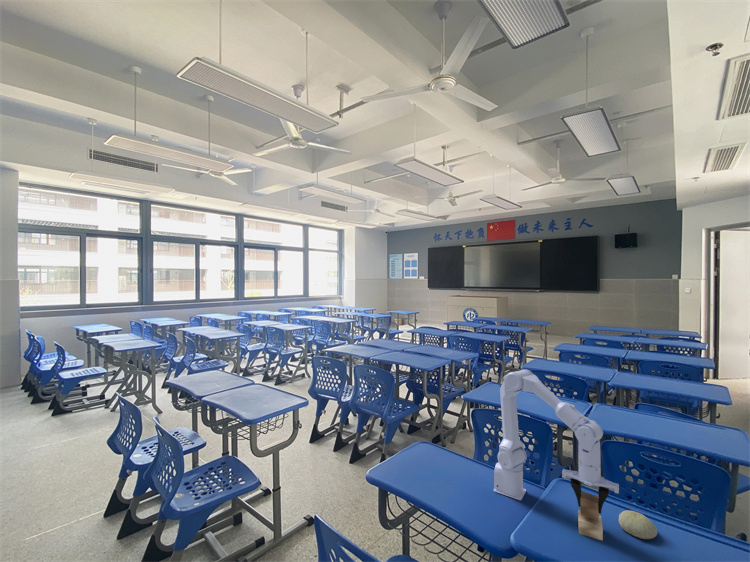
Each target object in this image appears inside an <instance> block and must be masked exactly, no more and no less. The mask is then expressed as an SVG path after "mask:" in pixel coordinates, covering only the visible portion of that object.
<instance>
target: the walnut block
mask: <svg viewBox="0 0 750 562" xmlns="http://www.w3.org/2000/svg"><path fill="white" fill-rule="evenodd" d="M580 503H581V507H580V510H581V515H582V516H585V517H588V518H591V519H594V520H597V521H598V520H599V516H600V513H598V506H599V495H595V494H591V493H588V492H585V491H581V498H580Z"/></svg>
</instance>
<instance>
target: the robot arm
mask: <svg viewBox="0 0 750 562" xmlns="http://www.w3.org/2000/svg"><path fill="white" fill-rule="evenodd" d="M502 378H503V381H502V383H501V386H500V388H499V394H500V396H499V397H500V407H501V408H500V409H501V425H502V440H501V442H500V444H499V445H498V447H499V448H498V449H499V450H498V453H497V461H498V462H496V463H495V467H494V471H493V479H494V480H493V492H494V493H496V494H497V493H498V494H501V495H502V496H507V497H509V498H512V499H515V500H518V501H522V500H523V498H524V496H525V494H526V492H527V489H526V488H524V479H523V478H524V463H525V462H526V461H527V452H526V450H525V448H524V443H523V442H522V440H520V434H519V433H520V431H519V419H518V405H517V403H518V402H517V395H518V394H519V393H521V392H526V393H532V394H533V393H534V395H536V396H537V397H539V398H540V399H541V400H542V401H543V402H544V403H546V404H547V405H548V406H550V407H551V408H552V409H553V410H554V411H555V413H554V414H555V416H556V417H557V418H558V419H560V420H561V422H563V423H564V424H565V425H566V426H567V427H568V428H570V430H571V431H572V432H574V436H575V438H576V440H577V441H578V447H577V448H578V449H577V450H578V451H577V452H578V454H577V455H578V457H577V458H578V470H569V469H565V468H562V472H561V478H562V479H563V478H564V479H569V480H570V486H571V488H572V489H573V491H574V492H573V493H574V494H575V497H576V500H577V505H578V507H580V508H581V503H580V498H581V494H582V483H583V484H584V485H585V486H589V487H593V486H594V487H597V488H598V489H597V490H598V491H597V492H598V494H597V496H599V506H598V513H599V515H601V514H602V510H603V506H604V503H605V501H606V500H607V498H608V497H609V492H610V491H612V492H614V494H620V493H619V492H620V488H619V487H620V485H619V483H616V482H613V481H610V480H608V479H606V478H603V477H602V476H601V473H602V471H601V469H602V468H601V441H600V440H601V439H602V438H603V435H604V431H603V429H602V426H601V425H600V424H599V423H598V422H597V421H596V420H592V419H590V418H589V417H587V416H585V415H584V414H582V413H581V412H580V411H579V410H577V408H576V406H575V405H574V404H573V403H571V404H570V403H569V402H566V401H565V402H563V401H562V400H561V399H559V398H558V396H557V395H555V394H554V393H553V392H552V391H551V390H550V389H549V388H548V387H547V386H546V385H545V384H544V383H542V381H540V379H539V377H538V376H537V375H536V374H534V373H533V372H532V371H531V370H529V369H524V368H523V369H521V370H516V371H511V372H508V373H507V374H506V375H504V376H503V377H502Z"/></svg>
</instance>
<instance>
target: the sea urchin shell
mask: <svg viewBox="0 0 750 562" xmlns="http://www.w3.org/2000/svg"><path fill="white" fill-rule="evenodd" d="M618 523H619V526H620V528H621V529H622V530H623V531H625V532H626V533H628V534H629V535H632V536H634V537H635V538H639V539H643V540H652V539H654V538H655V537H657V535H658V528H657V527H656V526H655V524H654V523H653V522H652V520H651V519H650V518H648V517H646V515H644V514H642V513H640V512H637V511H635V510H627V509H626V510H624V511H622V512H620V513H619V515H618Z"/></svg>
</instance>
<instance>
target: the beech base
mask: <svg viewBox="0 0 750 562" xmlns="http://www.w3.org/2000/svg"><path fill="white" fill-rule="evenodd" d="M577 511H578V512H577V517H578V518H577V519H578V521H577V522H578V527H577V528H578V534H579V535H582V536H586V537H589V538H592V539H596V540H598V541H604V540H603V539H604V536H603V535H604V534H603V532H604V531H603V521H602V516H601V515H599V520H598V521H597V520H594V519H591V518H588V517H585V516H582V515H581V509H578V510H577Z"/></svg>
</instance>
